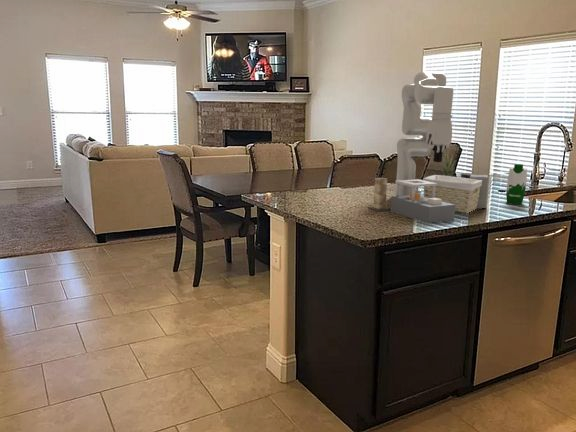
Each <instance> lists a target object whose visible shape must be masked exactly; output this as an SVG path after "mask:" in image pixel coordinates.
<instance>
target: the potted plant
mask: <svg viewBox="0 0 576 432" xmlns="http://www.w3.org/2000/svg"><path fill="white" fill-rule="evenodd" d="M444 156H445V158H444ZM444 156H443V155H442V161H443V164H444V166H442V165H441V164H439V167H440V168H441V172H442V175H441V176H451V177H453V175H454V174H455V173H456V170H455V164H456V162H457V160H456V159H455V160H454V161H453V159H454V155H452V156H451V158H450V156H449V152H447V153H446V151H444ZM452 162H453V163H452Z"/></svg>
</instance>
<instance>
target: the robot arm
mask: <svg viewBox="0 0 576 432" xmlns="http://www.w3.org/2000/svg"><path fill="white" fill-rule="evenodd" d="M446 85H447V77H446V75H445V73H444V72H443V71H442V72H441V71H420V72H418V73H417V74H415V76H414V78H413V83H407V84H405V85H404V86H402V89H401V99H402V101H401V102H402V104H403V113H402V122H401V133H402V134H403V135H405V136H417V137H402V138H400V139H398V141H397V143H396V151H397V152H396V153H397V154H396V155H397V166H396V167H397V168H396V180H395V181H397V180H415V179H416V171H417V170H416V169H417V165H416V162H415V160H414V159H413V158H412V157H427V156H429V155H430V154H431V151H432V152H433V162H436V163H442V161H443V157H442V156H443V154H444V153H445V151H446V149H449V148H450V145H451V144H452V139H453V124H452V123H453V122H452V120H451V119H452V118H453V114H452V111H453V99H454V88H453V87H451V86H446ZM421 105H432V113H431V117H430V116H421V112H422V106H421ZM418 136H419V137H418ZM421 136H422V137H421ZM396 185H397V183H395V186H396ZM410 193H412V187H411V186H407V185H403V184H399V196H404V195H410ZM415 193H416V188H415ZM418 194H422V190H421V189H419V190H418ZM392 196H396V193H393V194H392Z"/></svg>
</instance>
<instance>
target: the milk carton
mask: <svg viewBox="0 0 576 432" xmlns="http://www.w3.org/2000/svg"><path fill="white" fill-rule="evenodd" d="M507 175H508V176H507V181H506V182H507V184H506V192H505V193H506V196H505V197H506V204H508V203H512V204H511V205H519V204H521V205H522V204H523V201H524V198H525V194H526V187H527V177H528V170H527V168H526V167H524V164H523V163H521V164H520V163H514V166H513V167H512V166H510V167H509V170H508V174H507Z"/></svg>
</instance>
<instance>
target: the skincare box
mask: <svg viewBox="0 0 576 432" xmlns="http://www.w3.org/2000/svg"><path fill="white" fill-rule="evenodd" d="M470 179H476V180H482V186H481V187H480V193H479V198H478V202H477V203H478V204H477V208H476V209H482V208H486V207H487V199H488V183H489V175H488V174H486V175H485V174H479V175H470ZM486 209H487V208H486Z"/></svg>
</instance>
